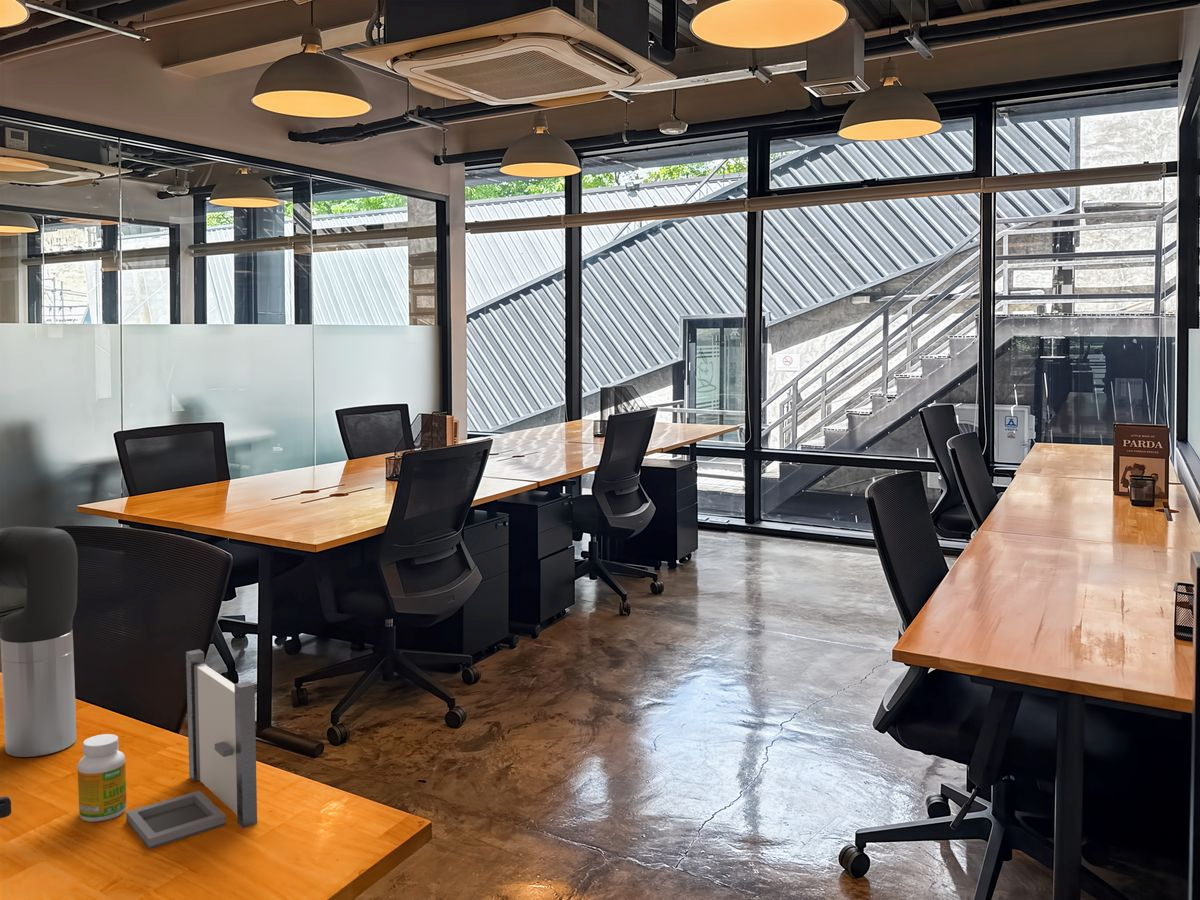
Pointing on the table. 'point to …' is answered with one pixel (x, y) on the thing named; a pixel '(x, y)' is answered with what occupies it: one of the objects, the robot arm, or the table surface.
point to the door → (216, 734)
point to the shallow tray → (175, 819)
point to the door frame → (243, 740)
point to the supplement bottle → (101, 779)
